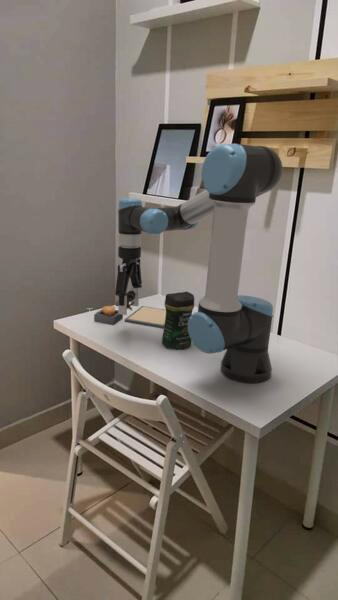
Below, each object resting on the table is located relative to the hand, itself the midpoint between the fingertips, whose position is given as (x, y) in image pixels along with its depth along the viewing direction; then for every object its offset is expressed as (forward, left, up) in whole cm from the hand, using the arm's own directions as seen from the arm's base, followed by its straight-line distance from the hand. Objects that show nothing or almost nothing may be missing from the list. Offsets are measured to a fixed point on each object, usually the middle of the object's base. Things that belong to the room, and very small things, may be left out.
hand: (128, 309), depth 163 cm
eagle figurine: (0, +1, 0) cm, 1 cm away
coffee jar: (-2, -19, -9) cm, 21 cm away
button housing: (+10, +12, -9) cm, 19 cm away
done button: (+10, +12, -7) cm, 17 cm away
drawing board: (+20, -2, -9) cm, 22 cm away
